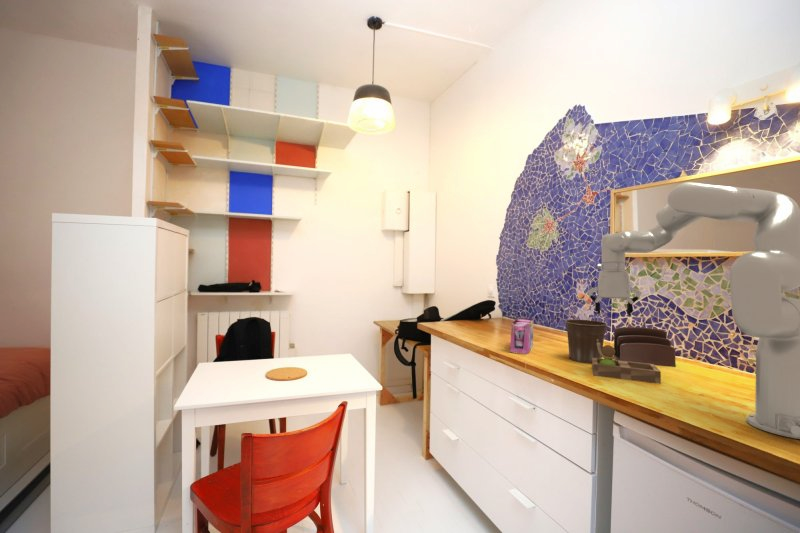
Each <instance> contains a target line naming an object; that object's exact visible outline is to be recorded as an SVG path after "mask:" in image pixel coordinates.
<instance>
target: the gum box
mask: <svg viewBox="0 0 800 533" xmlns="http://www.w3.org/2000/svg"><path fill="white" fill-rule="evenodd" d="M510 324H511V326H510V343H509V344H510V346H509V353H510V352H517V353H516V354H518V353H524V354H523V355H526V354H528V355H529V353H530V352H531V350H532V349H533V347H534V319H533V318H525V317H524V318H521V317H517V318H516V319H514V321H512V322H511V323H510ZM529 351H530V352H529Z"/></svg>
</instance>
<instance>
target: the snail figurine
mask: <svg viewBox="0 0 800 533" xmlns="http://www.w3.org/2000/svg"><path fill="white" fill-rule="evenodd" d="M597 341H598V339H597ZM597 347H598V352H599V354H600V356H602V360H601V361H600V363H599V364H606V365H615V363H614V361H612V360H615V357H614V355H615V349H614V346H612V345H610V344H605V345H603V347H602V350H601V344H600V343H599V342H598V343H597ZM615 366H616V365H615Z"/></svg>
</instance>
